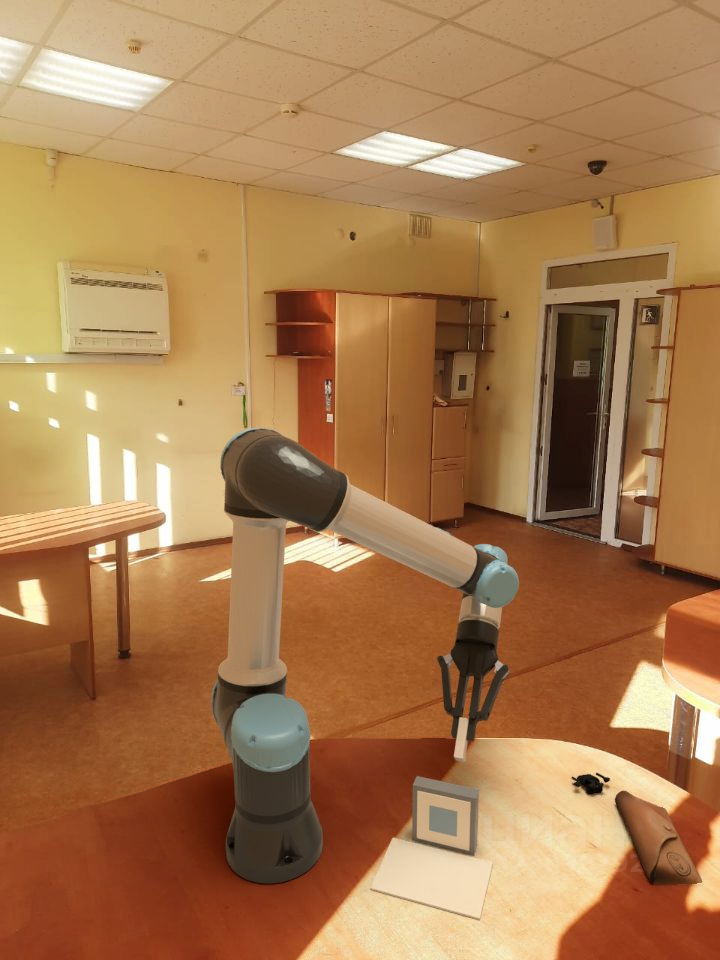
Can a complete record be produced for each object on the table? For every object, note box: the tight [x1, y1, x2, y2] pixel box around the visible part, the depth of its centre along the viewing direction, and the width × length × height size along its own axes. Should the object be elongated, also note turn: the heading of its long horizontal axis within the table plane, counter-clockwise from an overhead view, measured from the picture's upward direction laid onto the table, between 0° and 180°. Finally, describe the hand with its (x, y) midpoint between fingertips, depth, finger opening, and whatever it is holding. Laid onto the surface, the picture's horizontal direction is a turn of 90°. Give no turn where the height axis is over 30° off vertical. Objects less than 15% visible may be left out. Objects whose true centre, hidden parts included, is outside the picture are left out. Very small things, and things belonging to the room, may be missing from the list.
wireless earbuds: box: [571, 772, 611, 796], centre depth 122 cm, size 7×2×5 cm
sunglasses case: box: [614, 790, 703, 886], centre depth 109 cm, size 18×7×7 cm
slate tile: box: [411, 775, 480, 857], centre depth 108 cm, size 10×3×10 cm, turn 70°
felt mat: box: [369, 837, 494, 921], centre depth 102 cm, size 16×11×1 cm
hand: (459, 759), depth 114 cm, fingers closed
